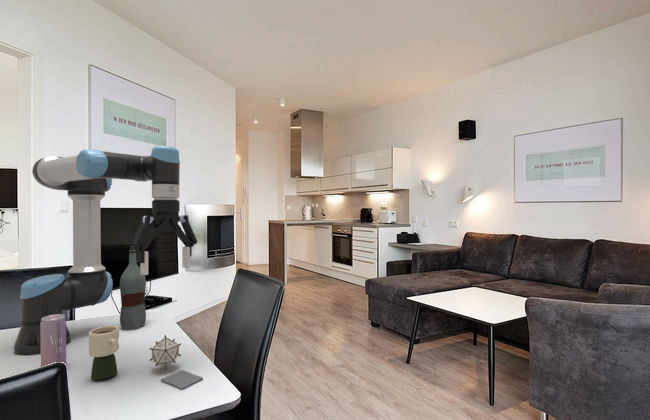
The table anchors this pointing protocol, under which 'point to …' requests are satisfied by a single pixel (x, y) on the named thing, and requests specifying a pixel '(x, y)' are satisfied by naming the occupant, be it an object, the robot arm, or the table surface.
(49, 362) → the beverage can
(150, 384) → the table surface
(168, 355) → the game die
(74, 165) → the robot arm
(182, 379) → the grey rubber mat
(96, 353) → the character mug
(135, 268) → the bottle
